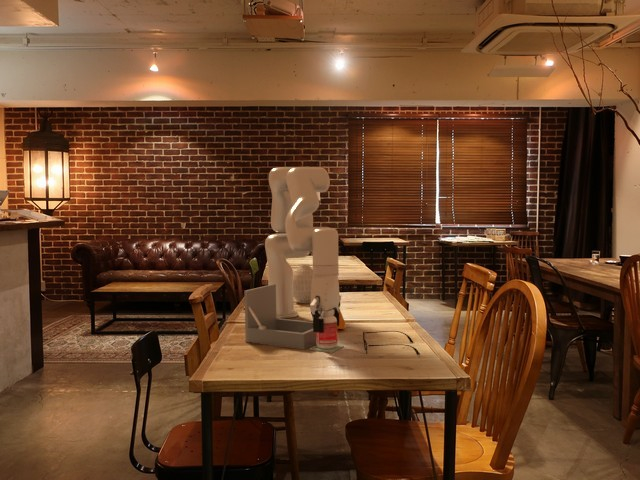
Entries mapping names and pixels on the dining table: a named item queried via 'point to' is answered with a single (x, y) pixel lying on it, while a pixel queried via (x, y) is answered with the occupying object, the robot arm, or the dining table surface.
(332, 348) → the mat
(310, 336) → the case
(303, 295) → the vase
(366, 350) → the eyeglasses
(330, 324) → the pill bottle
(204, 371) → the dining table surface
